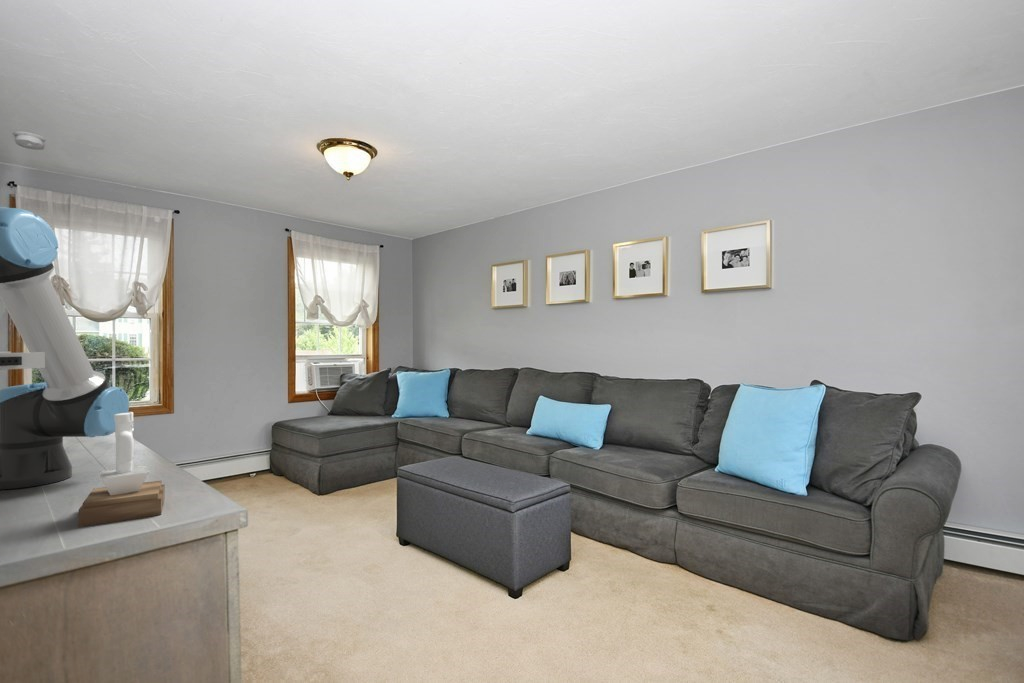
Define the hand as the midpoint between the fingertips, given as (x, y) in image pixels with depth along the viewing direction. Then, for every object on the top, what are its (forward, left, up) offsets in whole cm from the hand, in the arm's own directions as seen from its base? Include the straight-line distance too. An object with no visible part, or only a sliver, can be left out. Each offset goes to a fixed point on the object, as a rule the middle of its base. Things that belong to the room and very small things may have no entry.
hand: (26, 359), depth 92 cm
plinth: (+1, +14, -30) cm, 33 cm away
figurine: (+1, +14, -26) cm, 29 cm away
